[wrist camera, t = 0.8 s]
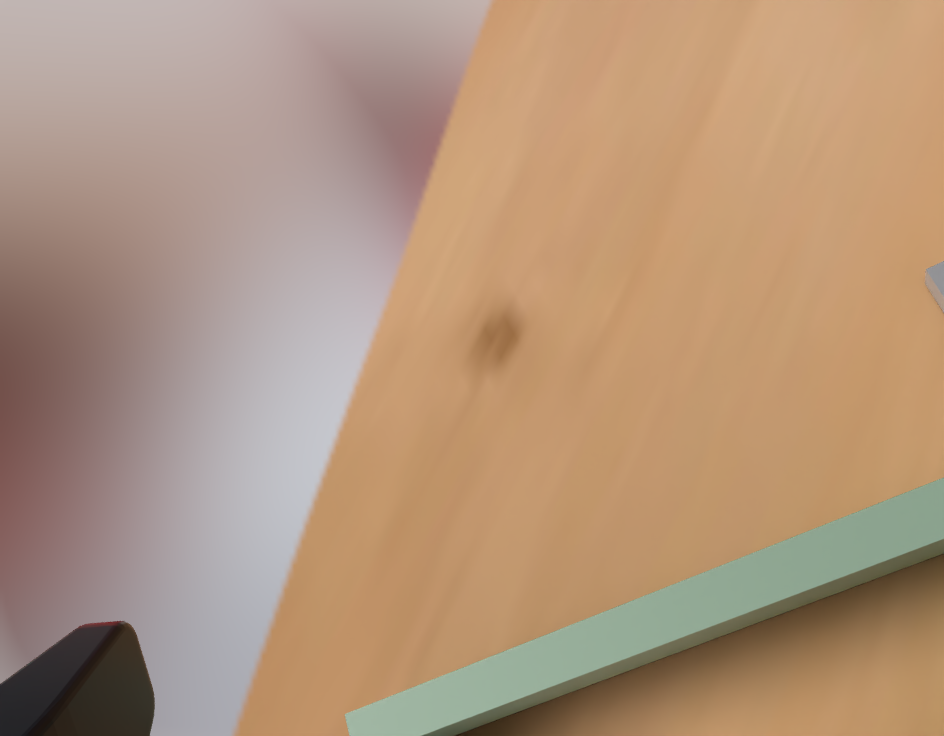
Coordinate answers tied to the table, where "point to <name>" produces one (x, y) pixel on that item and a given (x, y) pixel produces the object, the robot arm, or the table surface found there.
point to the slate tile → (936, 283)
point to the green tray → (670, 619)
